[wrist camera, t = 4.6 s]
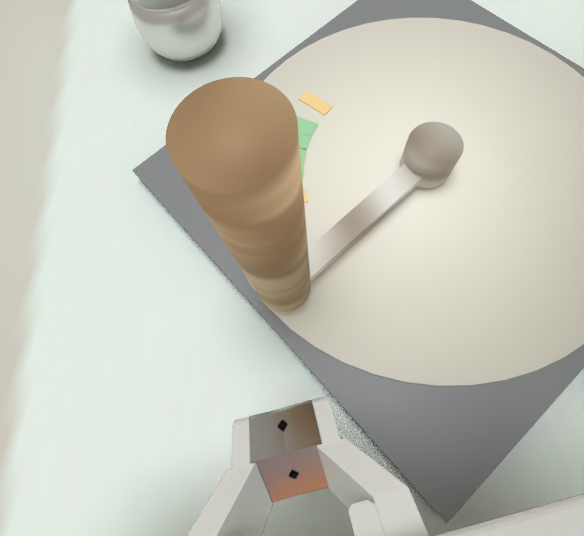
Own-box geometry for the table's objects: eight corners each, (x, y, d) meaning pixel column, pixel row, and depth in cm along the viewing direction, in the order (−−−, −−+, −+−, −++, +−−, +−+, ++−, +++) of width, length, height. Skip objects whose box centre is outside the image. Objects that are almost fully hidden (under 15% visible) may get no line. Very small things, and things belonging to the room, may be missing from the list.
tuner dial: (404, -23, 31) (409, -42, 30) (734, 182, 24) (760, 169, 22) (140, 179, 27) (130, 167, 26) (439, 515, 19) (448, 525, 18)
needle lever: (422, 136, 24) (549, -174, 11) (461, 166, 23) (650, -133, 10) (248, 288, 22) (137, 127, 8) (284, 327, 21) (223, 218, 8)
